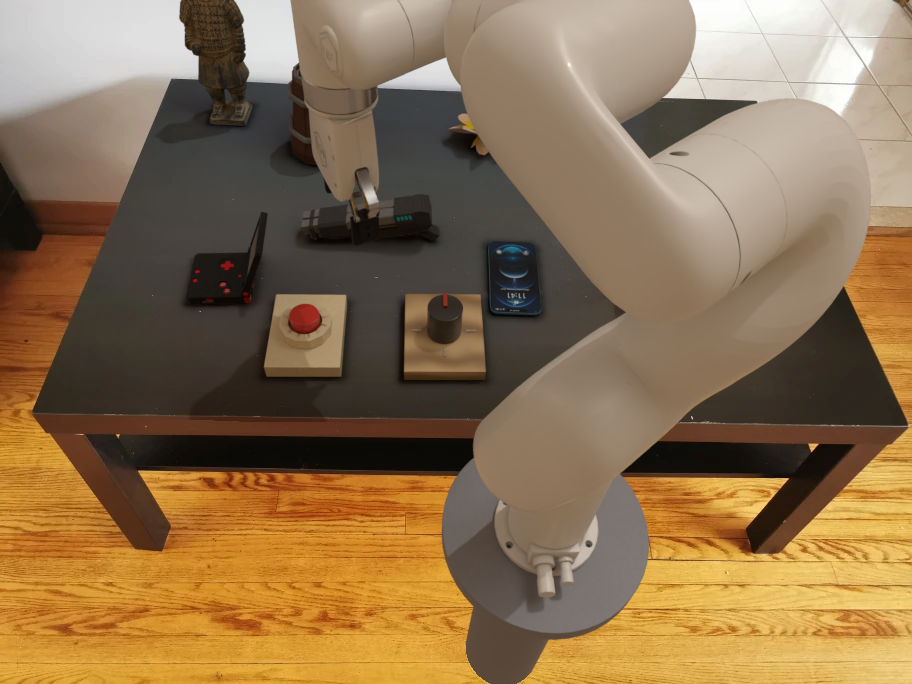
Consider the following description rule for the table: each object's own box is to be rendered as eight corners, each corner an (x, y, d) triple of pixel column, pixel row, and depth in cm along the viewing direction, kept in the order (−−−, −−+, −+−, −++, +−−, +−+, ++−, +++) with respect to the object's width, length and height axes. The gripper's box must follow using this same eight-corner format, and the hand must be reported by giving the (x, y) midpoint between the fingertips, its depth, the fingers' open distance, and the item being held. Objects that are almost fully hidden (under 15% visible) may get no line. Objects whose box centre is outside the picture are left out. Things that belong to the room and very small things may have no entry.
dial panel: (484, 380, 96) (486, 371, 95) (404, 380, 96) (403, 370, 94) (479, 303, 105) (480, 293, 103) (405, 302, 104) (405, 292, 103)
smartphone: (535, 242, 113) (542, 313, 103) (535, 245, 113) (541, 316, 104) (487, 240, 112) (490, 311, 103) (487, 243, 113) (489, 314, 103)
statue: (199, 124, 128) (151, -49, 105) (210, 100, 133) (166, -71, 109) (256, 128, 128) (221, -45, 105) (265, 104, 133) (233, -67, 110)
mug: (350, 170, 122) (344, 93, 111) (282, 162, 123) (268, 84, 111) (369, 118, 132) (365, 42, 120) (306, 110, 133) (295, 34, 121)
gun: (442, 244, 111) (421, 198, 104) (327, 272, 116) (299, 229, 108) (442, 225, 114) (422, 178, 107) (329, 253, 118) (302, 209, 111)
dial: (461, 344, 97) (464, 319, 93) (427, 344, 97) (427, 319, 93) (460, 317, 100) (462, 292, 96) (426, 317, 100) (427, 292, 96)
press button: (319, 334, 95) (317, 326, 94) (289, 334, 95) (287, 325, 94) (321, 311, 98) (320, 303, 96) (292, 311, 97) (290, 303, 96)
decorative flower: (494, 95, 135) (506, 54, 126) (536, 132, 133) (551, 94, 124) (438, 131, 129) (446, 90, 120) (481, 171, 127) (492, 133, 118)
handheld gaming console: (197, 259, 108) (180, 209, 100) (278, 257, 109) (267, 207, 101) (187, 305, 102) (168, 256, 94) (273, 303, 103) (261, 254, 95)
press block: (341, 377, 95) (338, 359, 92) (266, 376, 95) (261, 359, 92) (347, 304, 103) (345, 286, 100) (278, 304, 103) (274, 285, 100)
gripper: (279, 49, 75) (299, 178, 88) (332, 142, 65) (346, 271, 79) (346, 36, 77) (356, 164, 90) (407, 125, 67) (408, 253, 81)
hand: (351, 214), depth 84 cm, fingers open, 9 cm apart
